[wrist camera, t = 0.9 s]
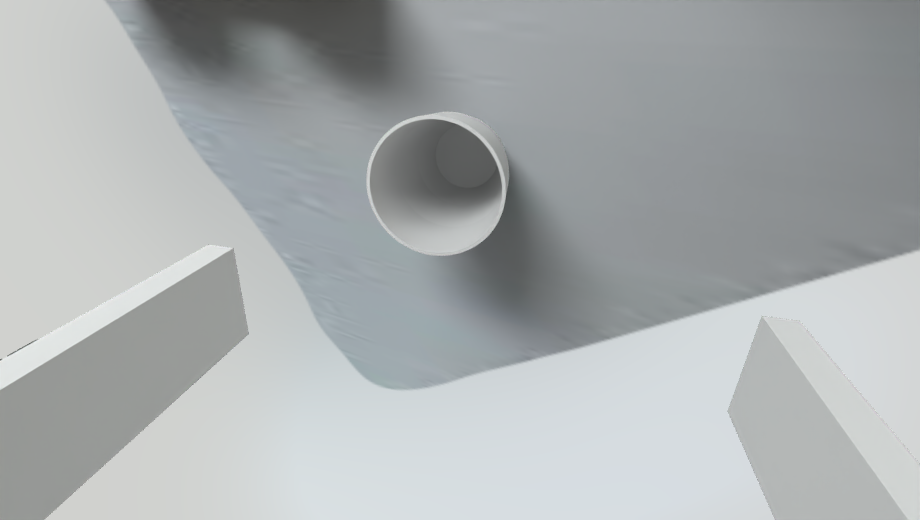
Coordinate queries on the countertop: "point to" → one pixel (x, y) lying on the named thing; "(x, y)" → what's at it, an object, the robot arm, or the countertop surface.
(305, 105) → the countertop surface
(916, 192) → the countertop surface
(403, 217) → the cup
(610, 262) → the countertop surface
